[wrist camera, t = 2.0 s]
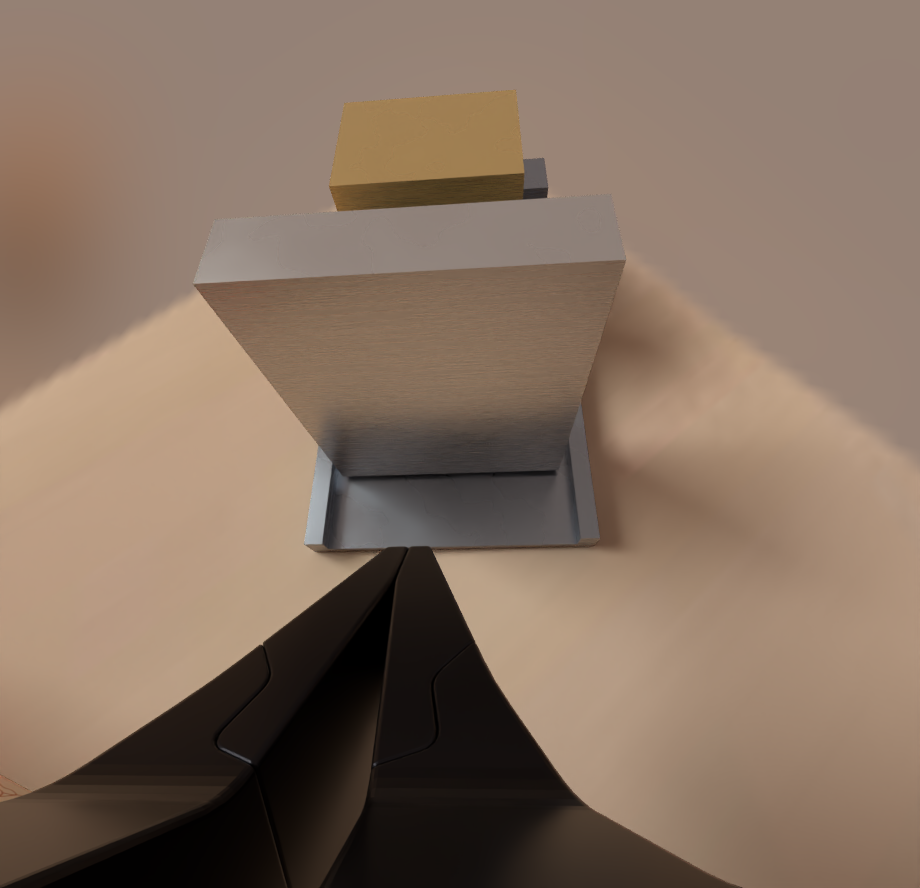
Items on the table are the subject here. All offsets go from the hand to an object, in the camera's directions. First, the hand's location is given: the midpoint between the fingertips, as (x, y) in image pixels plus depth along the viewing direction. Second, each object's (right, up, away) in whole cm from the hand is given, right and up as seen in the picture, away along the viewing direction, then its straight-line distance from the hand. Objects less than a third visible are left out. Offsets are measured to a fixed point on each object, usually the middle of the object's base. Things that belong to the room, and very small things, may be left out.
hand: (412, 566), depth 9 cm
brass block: (+1, +9, +14) cm, 16 cm away
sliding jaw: (+1, +2, +11) cm, 11 cm away
